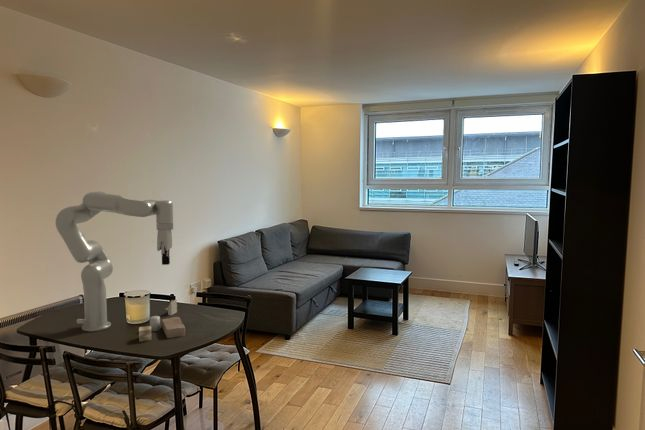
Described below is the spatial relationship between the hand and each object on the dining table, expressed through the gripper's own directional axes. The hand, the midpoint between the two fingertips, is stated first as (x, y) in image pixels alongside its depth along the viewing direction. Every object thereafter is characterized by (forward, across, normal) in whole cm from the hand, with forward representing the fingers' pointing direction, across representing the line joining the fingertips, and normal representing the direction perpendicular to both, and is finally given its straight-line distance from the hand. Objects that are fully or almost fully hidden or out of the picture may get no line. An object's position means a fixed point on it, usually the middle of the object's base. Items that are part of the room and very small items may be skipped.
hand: (165, 264), depth 213 cm
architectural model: (+32, -21, -3) cm, 38 cm away
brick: (+32, +6, +4) cm, 33 cm away
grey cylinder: (+31, +3, -5) cm, 32 cm away
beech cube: (+31, +15, -6) cm, 35 cm away
